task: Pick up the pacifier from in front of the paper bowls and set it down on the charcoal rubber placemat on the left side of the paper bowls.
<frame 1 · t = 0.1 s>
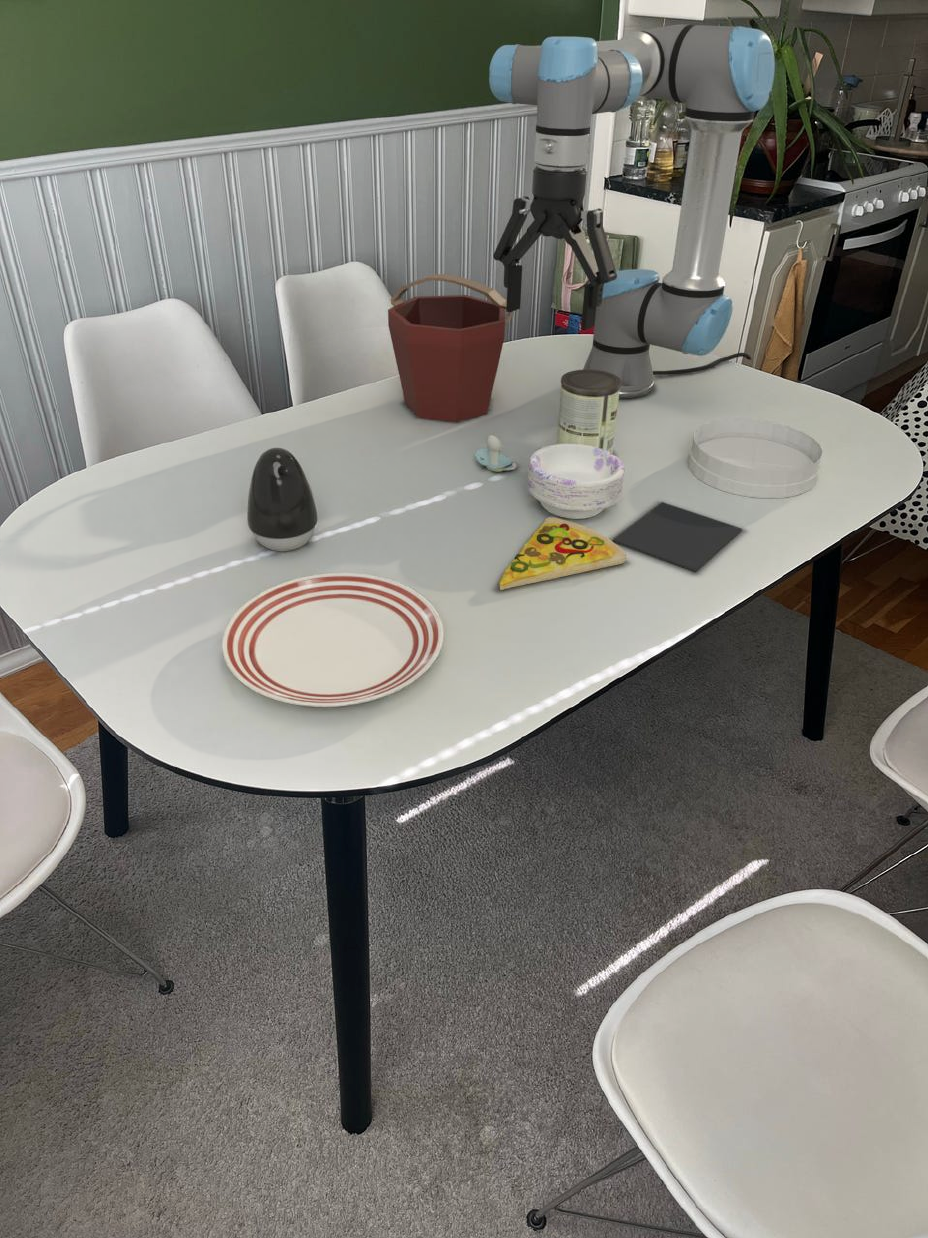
hand: (549, 319, 144), 28 cm above the table, tool pointing down, fingers open, 13 cm apart
bucket: (447, 407, 188), on the table
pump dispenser: (285, 544, 142), on the table
dish: (751, 470, 166), on the table
pizza slice: (547, 565, 138), on the table
placemat: (677, 536, 146), on the table
pacifier: (497, 467, 165), on the table
coffee can: (583, 455, 170), on the table
dinner plate: (335, 652, 120), on the table
paper bowls: (572, 507, 154), on the table
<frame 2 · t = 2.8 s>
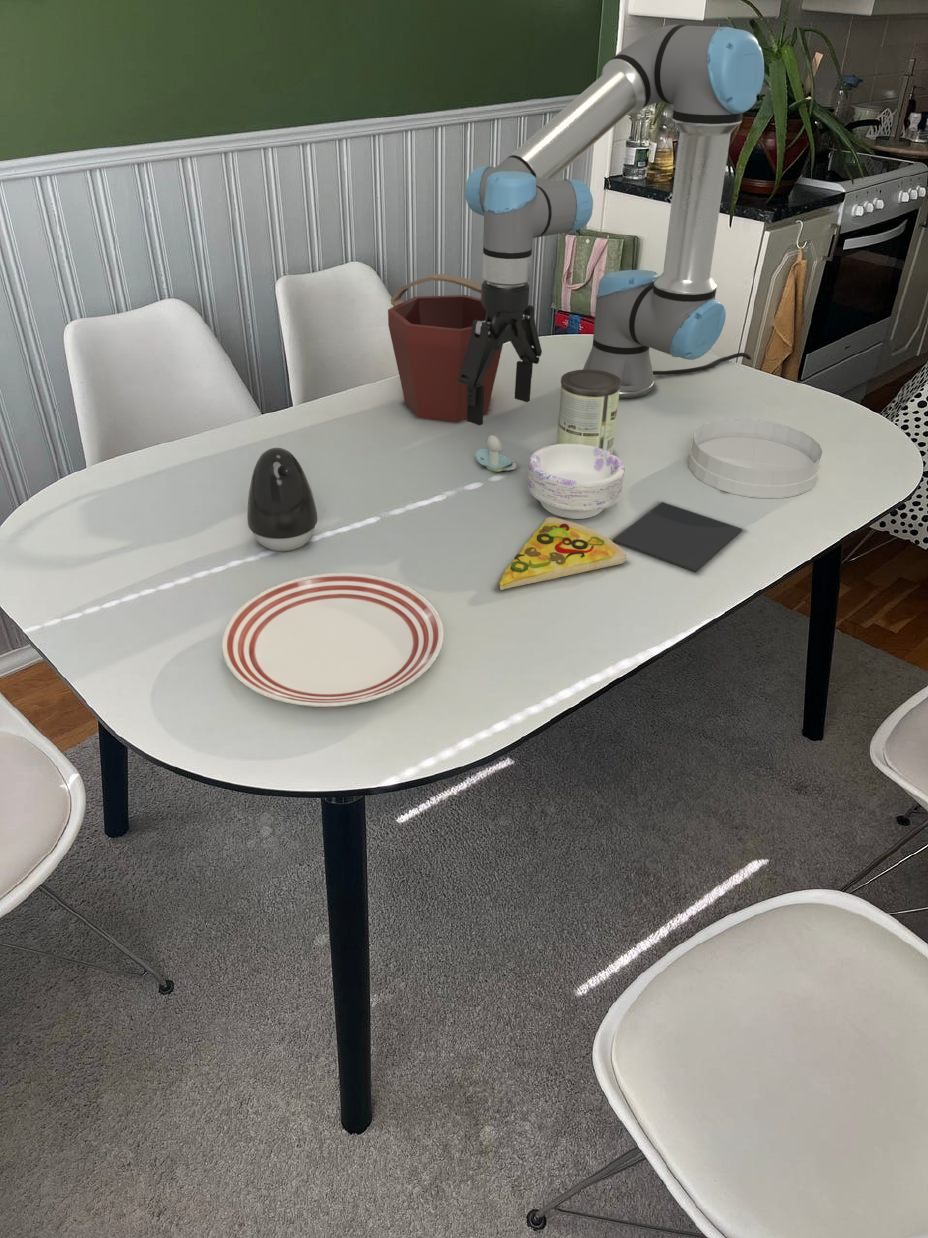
hand: (499, 411, 159), 10 cm above the table, tool pointing down, fingers open, 13 cm apart
nothing on the table moved.
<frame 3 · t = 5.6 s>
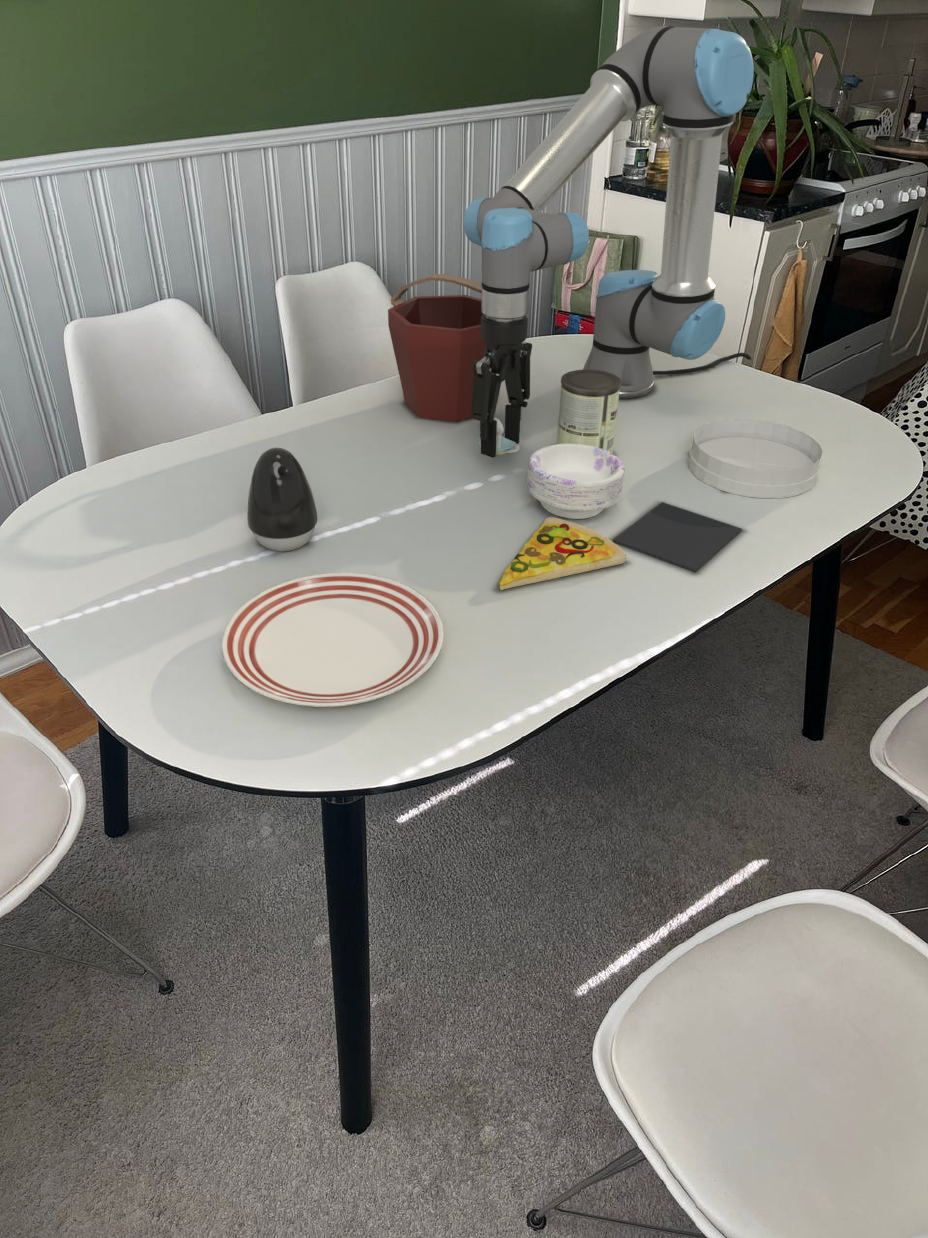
hand: (500, 448, 163), 3 cm above the table, tool pointing down, fingers closed on pacifier, 6 cm apart
pacifier: (500, 450, 164), point 3 cm above the table, touching gripper
everything else where it was.
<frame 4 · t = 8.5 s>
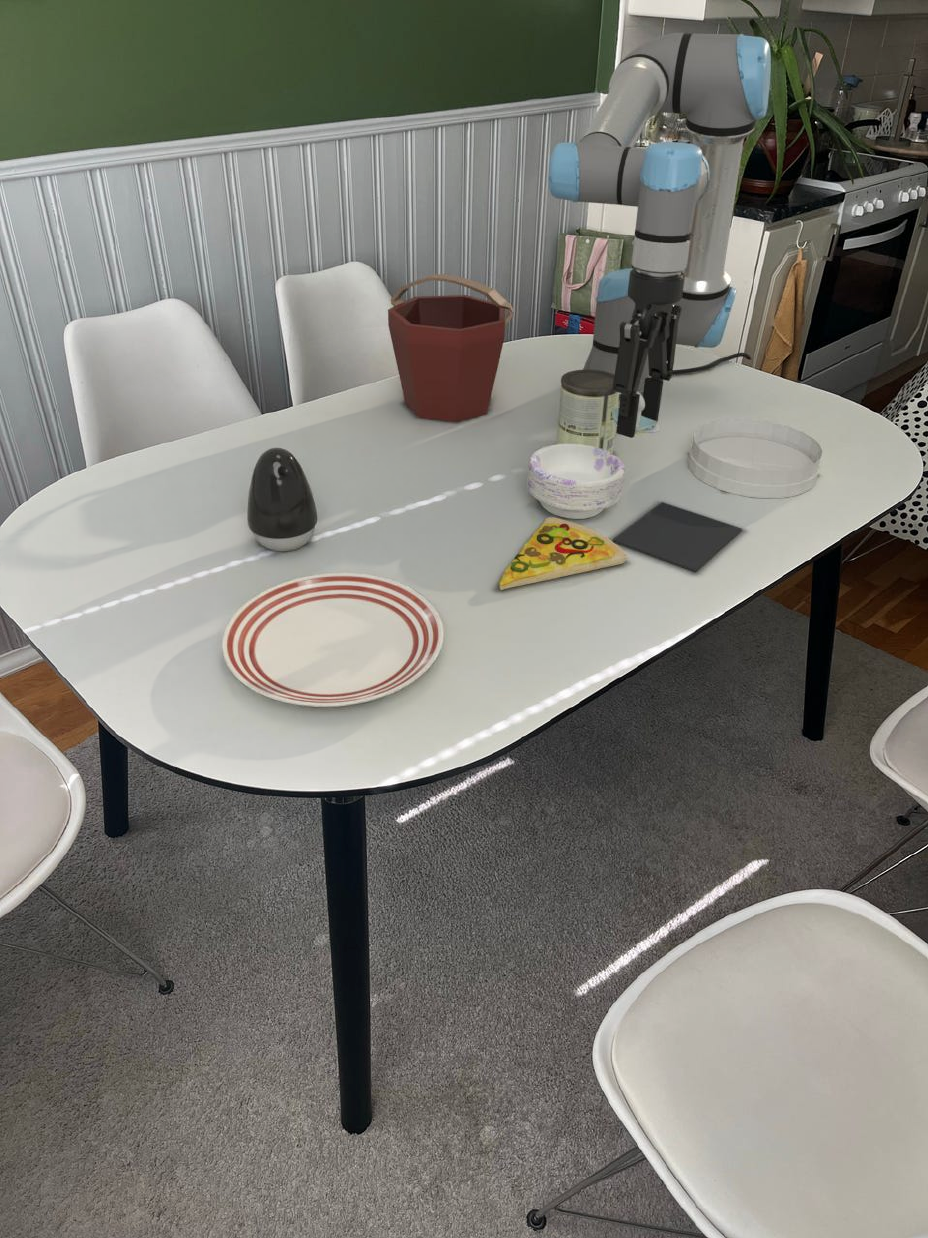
hand: (637, 427, 142), 15 cm above the table, tool pointing down, fingers closed on pacifier, 6 cm apart
pacifier: (636, 430, 143), point 15 cm above the table, touching gripper
everything else where it was.
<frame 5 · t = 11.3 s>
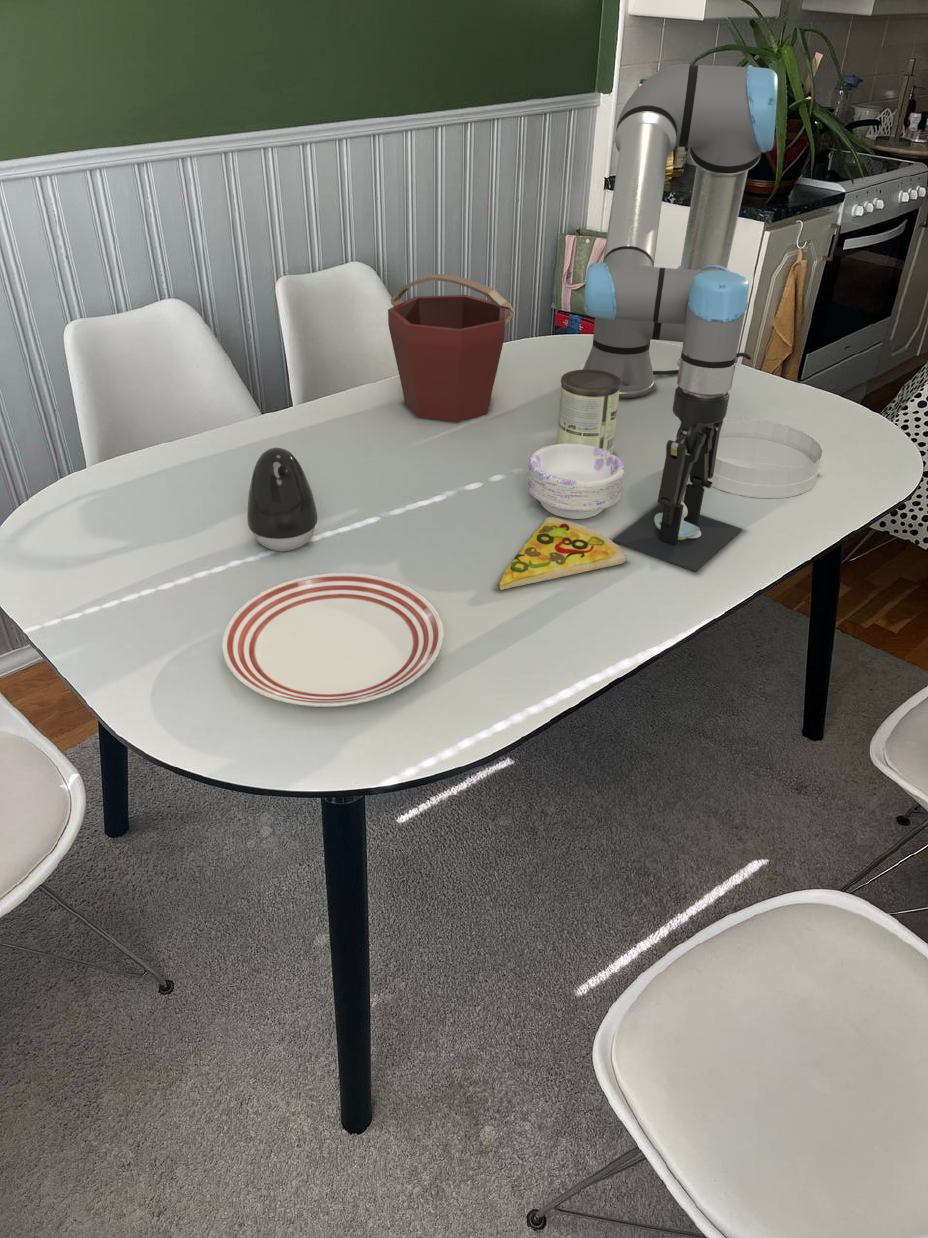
hand: (678, 532, 146), 1 cm above the table, tool pointing down, fingers closed on pacifier, 6 cm apart
pacifier: (678, 534, 146), resting on placemat, touching gripper
everything else where it was.
when the fingers open (1 cm above the table, at t = 11.6 s): pacifier stays where it is, resting on placemat.
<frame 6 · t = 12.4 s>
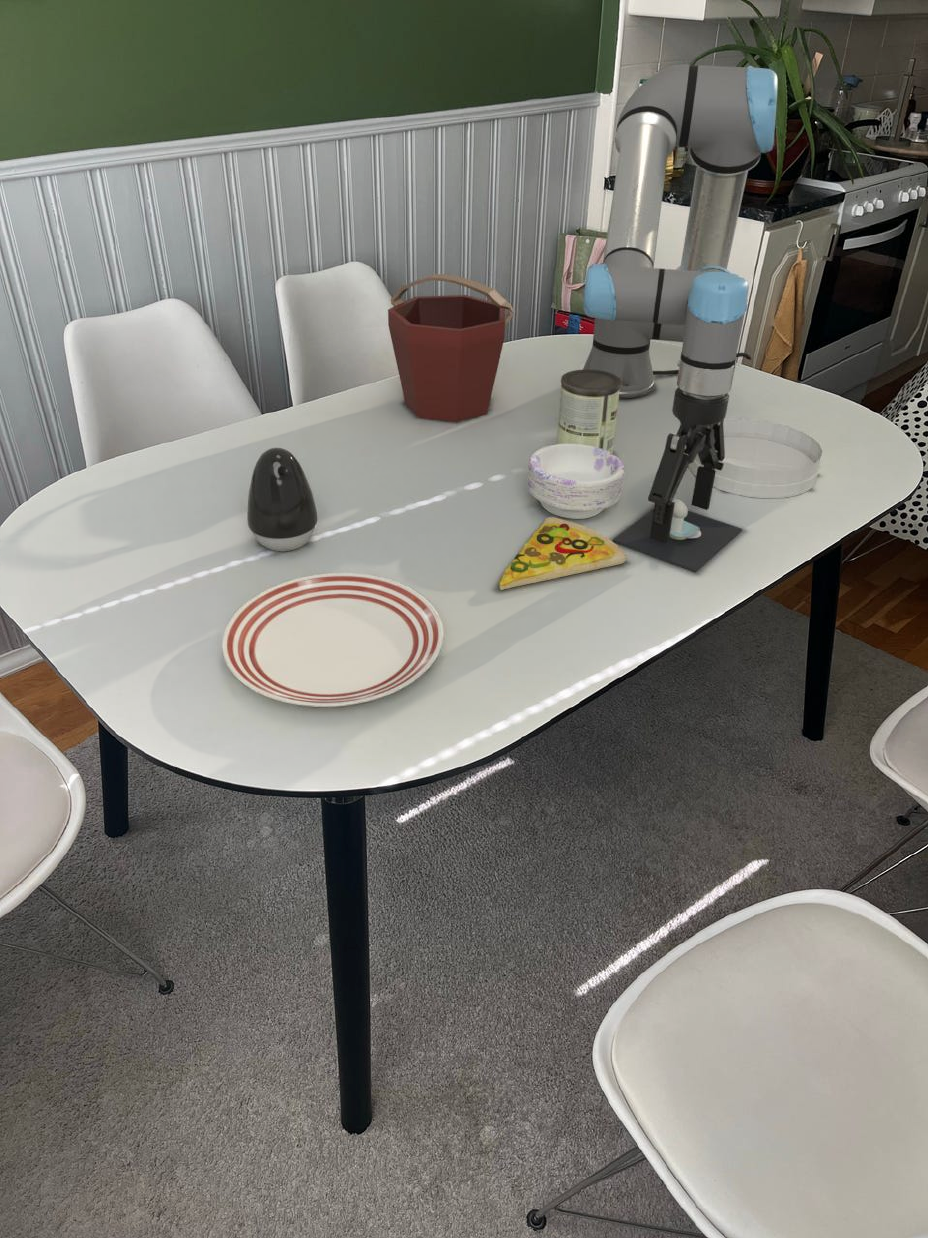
hand: (680, 522, 145), 2 cm above the table, tool pointing down, fingers open, 13 cm apart
pacifier: (678, 534, 146), resting on placemat
everything else where it was.
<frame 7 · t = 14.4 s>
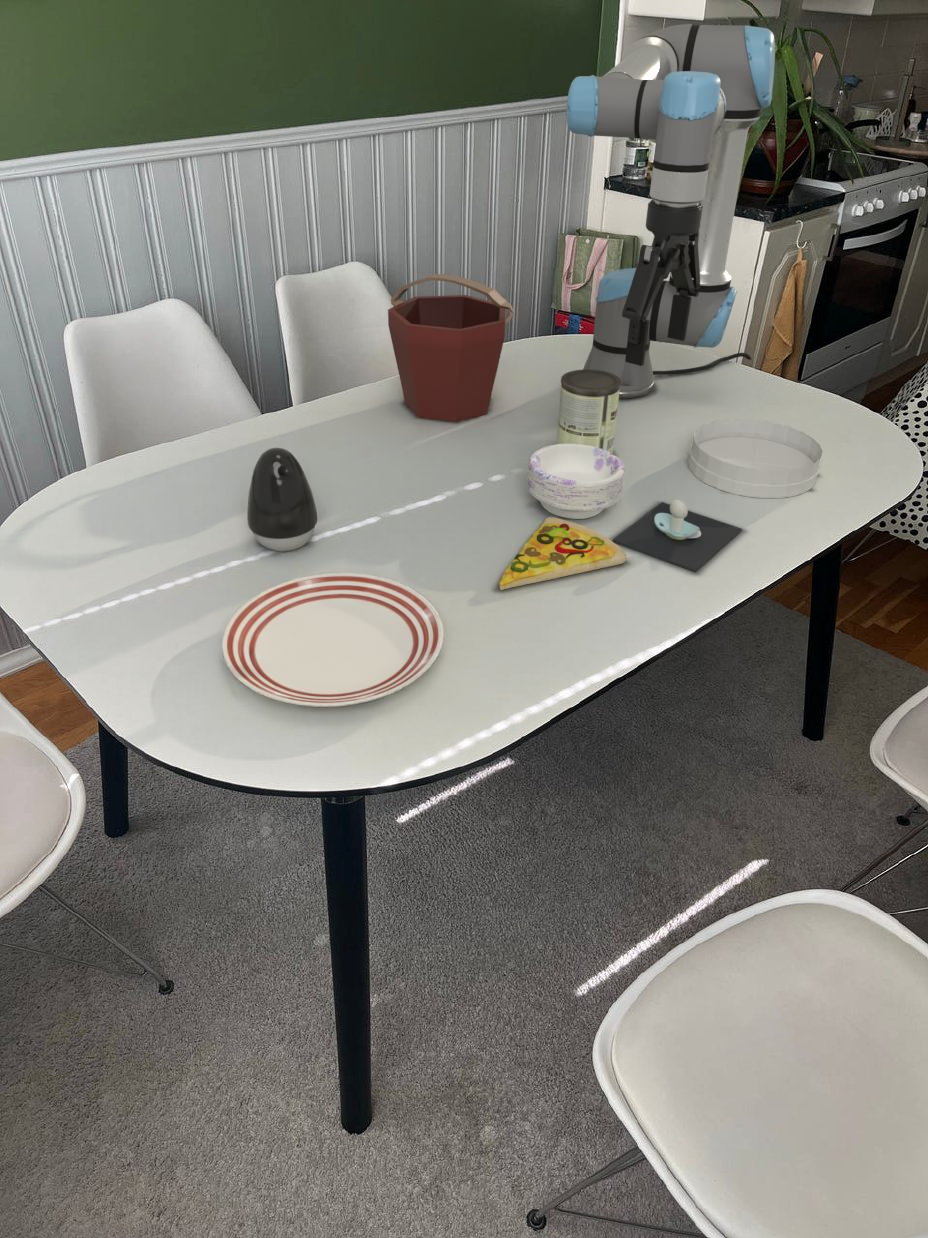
hand: (655, 350, 143), 25 cm above the table, tool pointing down, fingers open, 13 cm apart
nothing on the table moved.
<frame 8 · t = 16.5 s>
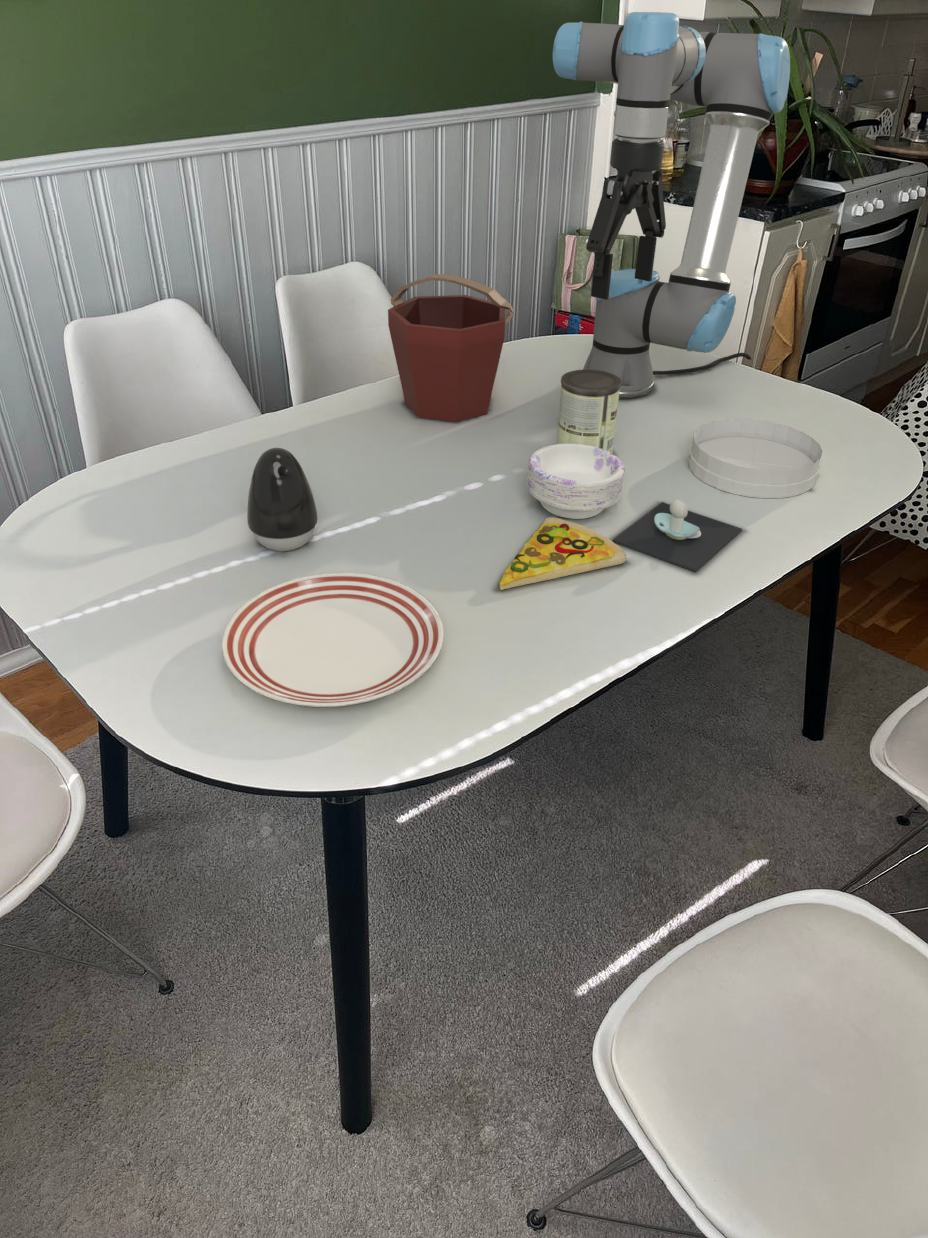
hand: (621, 288, 149), 31 cm above the table, tool pointing down, fingers open, 13 cm apart
nothing on the table moved.
at the end: pacifier inside the target area on the table beside the paper bowls (1.2 cm from its centre), resting on placemat; pacifier inside the target area on the placemat (0.1 cm from its centre), point 0.2 cm above the placemat's base; paper bowls moved 0.2 cm from its start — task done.
